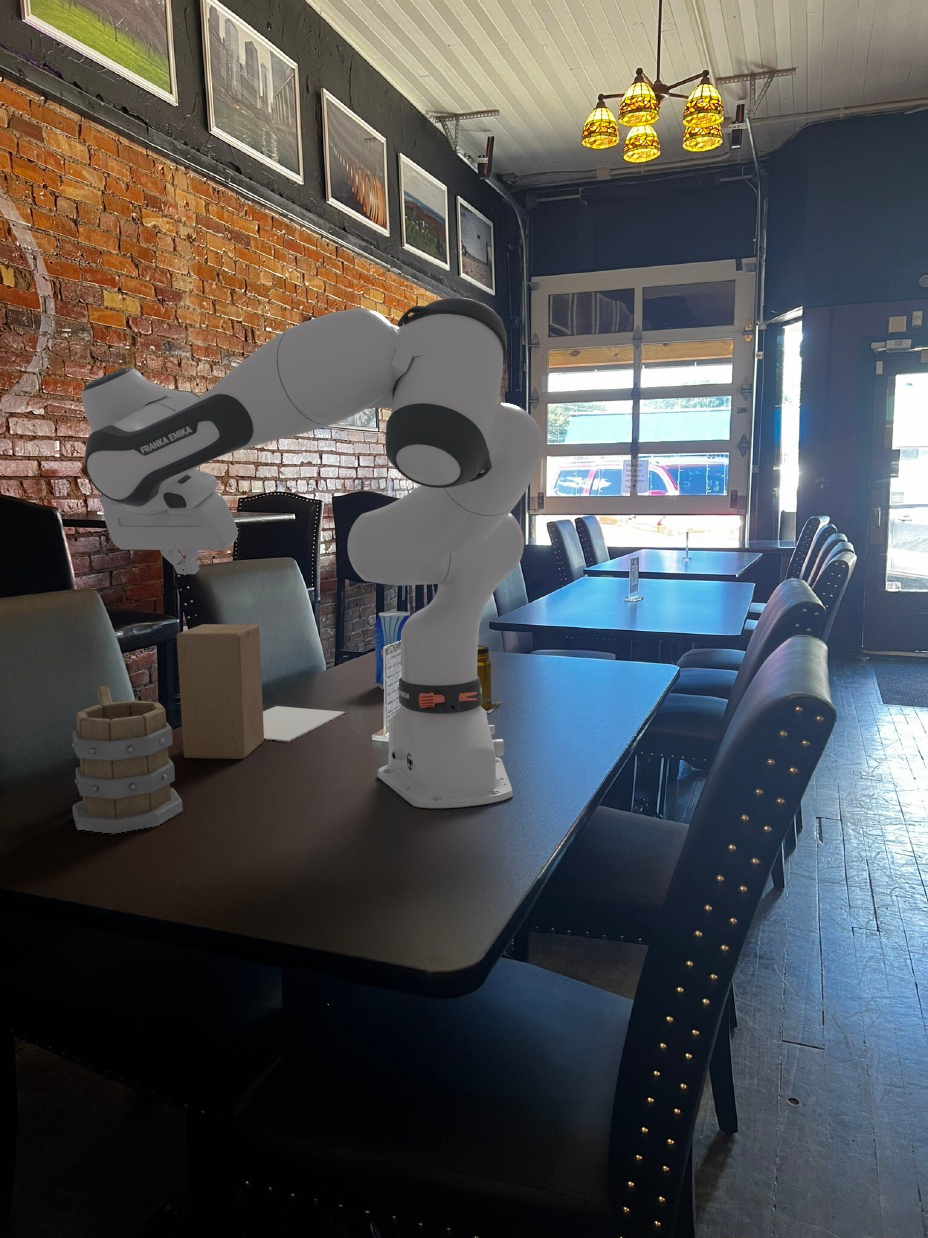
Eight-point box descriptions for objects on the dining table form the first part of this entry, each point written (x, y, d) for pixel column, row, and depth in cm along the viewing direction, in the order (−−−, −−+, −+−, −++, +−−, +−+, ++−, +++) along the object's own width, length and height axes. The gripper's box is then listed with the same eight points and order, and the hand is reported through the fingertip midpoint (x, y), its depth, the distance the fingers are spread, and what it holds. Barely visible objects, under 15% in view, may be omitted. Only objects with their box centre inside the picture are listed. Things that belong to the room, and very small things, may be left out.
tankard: (189, 821, 108) (182, 706, 106) (80, 842, 102) (71, 719, 100) (159, 777, 125) (153, 677, 123) (65, 792, 119) (57, 687, 117)
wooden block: (265, 741, 143) (259, 623, 140) (244, 760, 133) (238, 633, 130) (207, 740, 144) (201, 623, 141) (182, 758, 134) (175, 633, 131)
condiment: (453, 711, 162) (452, 649, 160) (466, 701, 170) (465, 642, 168) (489, 714, 160) (489, 651, 158) (501, 703, 168) (501, 643, 166)
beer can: (410, 692, 178) (409, 616, 176) (371, 691, 179) (369, 616, 177) (419, 683, 186) (417, 611, 184) (381, 682, 188) (379, 610, 185)
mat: (288, 742, 142) (288, 740, 142) (213, 734, 148) (213, 733, 148) (345, 713, 161) (344, 711, 161) (276, 707, 166) (276, 706, 166)
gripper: (80, 499, 120) (120, 582, 127) (199, 497, 112) (234, 585, 120) (109, 478, 124) (145, 559, 132) (225, 475, 117) (256, 561, 125)
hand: (188, 572), depth 126 cm, fingers closed
